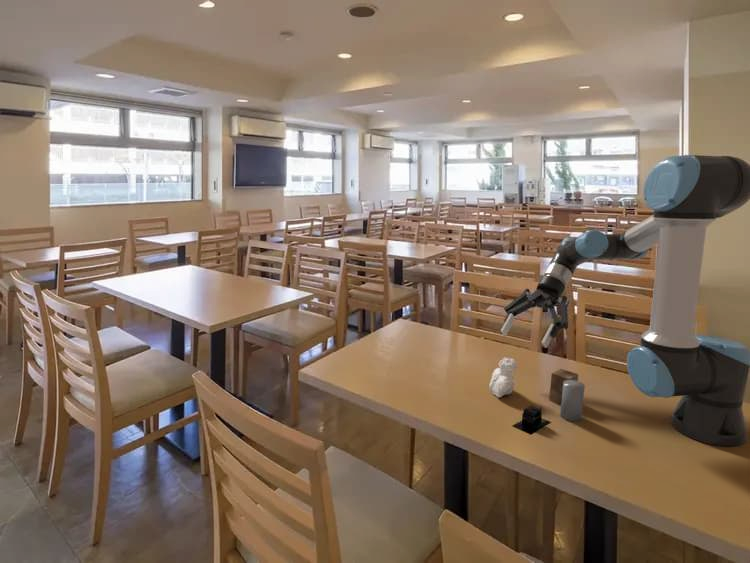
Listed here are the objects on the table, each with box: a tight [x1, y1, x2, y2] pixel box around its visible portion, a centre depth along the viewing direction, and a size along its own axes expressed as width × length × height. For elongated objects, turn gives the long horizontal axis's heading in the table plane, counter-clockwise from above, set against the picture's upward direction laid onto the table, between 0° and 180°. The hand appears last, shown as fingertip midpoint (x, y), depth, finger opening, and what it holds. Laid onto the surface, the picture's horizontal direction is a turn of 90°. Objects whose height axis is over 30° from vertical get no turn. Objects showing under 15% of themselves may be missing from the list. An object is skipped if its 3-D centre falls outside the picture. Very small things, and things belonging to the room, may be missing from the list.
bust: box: [488, 356, 518, 398], centre depth 137 cm, size 12×8×11 cm
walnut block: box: [548, 368, 579, 406], centre depth 133 cm, size 5×5×8 cm
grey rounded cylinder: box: [559, 380, 586, 423], centre depth 123 cm, size 5×5×9 cm
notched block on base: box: [511, 405, 552, 436], centre depth 120 cm, size 12×7×5 cm, turn 131°
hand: (522, 339), depth 142 cm, fingers open, 13 cm apart
